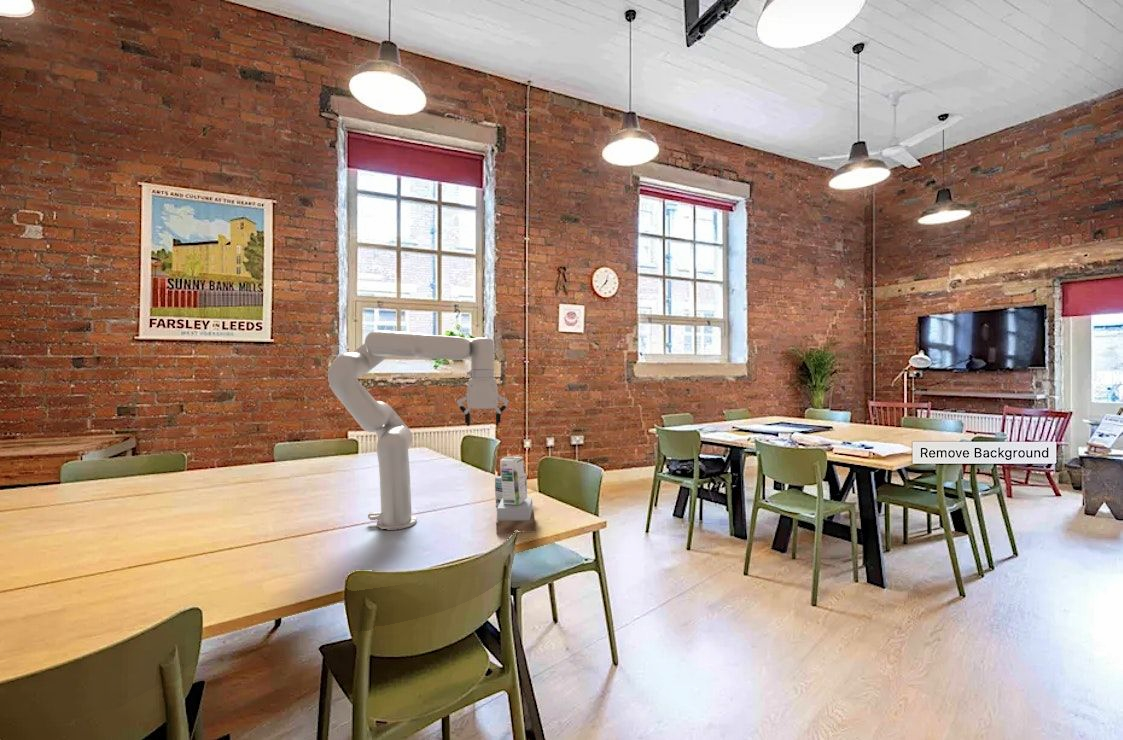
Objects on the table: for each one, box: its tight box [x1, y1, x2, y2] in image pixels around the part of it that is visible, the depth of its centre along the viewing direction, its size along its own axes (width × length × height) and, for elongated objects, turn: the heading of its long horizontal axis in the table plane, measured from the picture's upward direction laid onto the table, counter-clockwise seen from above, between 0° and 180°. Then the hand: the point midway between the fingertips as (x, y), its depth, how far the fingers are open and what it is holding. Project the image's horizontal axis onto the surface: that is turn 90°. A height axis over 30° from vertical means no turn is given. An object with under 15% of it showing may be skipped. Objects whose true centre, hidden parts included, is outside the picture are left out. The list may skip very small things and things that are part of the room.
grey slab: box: [496, 497, 533, 521], centre depth 160 cm, size 10×10×4 cm
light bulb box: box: [494, 473, 528, 508], centre depth 182 cm, size 11×7×11 cm, turn 143°
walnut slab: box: [495, 507, 536, 535], centre depth 160 cm, size 12×12×4 cm
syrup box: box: [499, 456, 526, 505], centre depth 160 cm, size 6×6×14 cm
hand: (483, 425), depth 168 cm, fingers open, 9 cm apart
